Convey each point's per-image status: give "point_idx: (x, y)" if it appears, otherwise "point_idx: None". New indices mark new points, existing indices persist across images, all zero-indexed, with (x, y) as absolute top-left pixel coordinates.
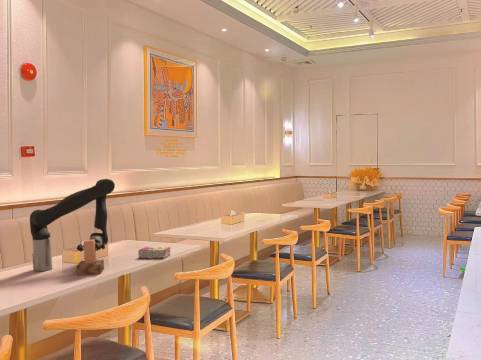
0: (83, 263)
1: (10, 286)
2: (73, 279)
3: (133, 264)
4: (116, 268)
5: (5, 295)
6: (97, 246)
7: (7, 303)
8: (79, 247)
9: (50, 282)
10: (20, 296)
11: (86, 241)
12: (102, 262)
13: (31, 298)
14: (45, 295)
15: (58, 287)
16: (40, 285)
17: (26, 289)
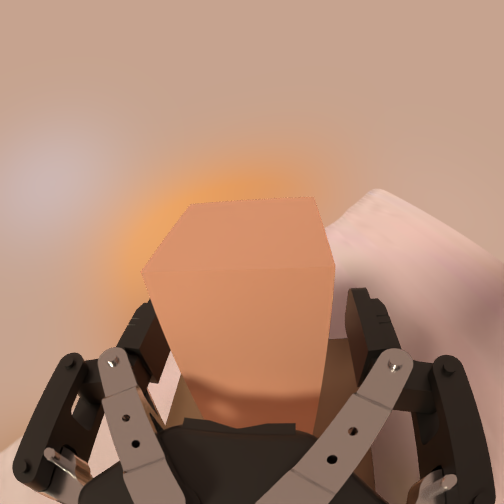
0: (322, 395)
1: (498, 268)
2: (333, 312)
3: (13, 489)
4: (103, 462)
5: (440, 222)
6: None
7: (393, 197)
8: (415, 364)
9: (410, 289)
10: (400, 214)
11: (274, 201)
12: (169, 426)
13: (366, 206)
14: (345, 212)
15: (345, 246)
16: (420, 266)
17: (431, 244)
